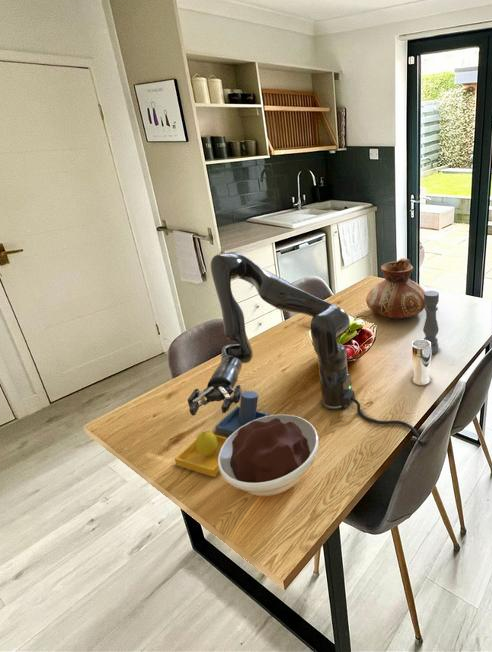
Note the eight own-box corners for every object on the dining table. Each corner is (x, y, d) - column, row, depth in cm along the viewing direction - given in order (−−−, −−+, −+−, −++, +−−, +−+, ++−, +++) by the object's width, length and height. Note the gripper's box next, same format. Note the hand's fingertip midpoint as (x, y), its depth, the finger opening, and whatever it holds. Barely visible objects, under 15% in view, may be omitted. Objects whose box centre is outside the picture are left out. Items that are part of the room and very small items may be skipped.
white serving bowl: (278, 428, 121) (271, 387, 115) (341, 462, 108) (336, 417, 102) (204, 484, 103) (191, 438, 97) (268, 533, 89) (258, 484, 83)
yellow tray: (242, 447, 114) (240, 441, 113) (214, 477, 105) (212, 470, 104) (206, 437, 119) (204, 431, 118) (176, 465, 109) (174, 458, 108)
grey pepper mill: (421, 352, 161) (421, 295, 151) (425, 345, 166) (425, 289, 156) (435, 355, 158) (437, 297, 149) (439, 347, 164) (441, 291, 154)
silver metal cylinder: (433, 377, 144) (434, 340, 138) (427, 387, 138) (427, 350, 132) (415, 373, 147) (415, 337, 141) (408, 383, 141) (408, 346, 135)
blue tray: (270, 419, 125) (269, 413, 125) (249, 441, 117) (248, 435, 116) (238, 412, 129) (237, 406, 128) (216, 432, 121) (215, 426, 120)
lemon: (212, 463, 109) (206, 440, 106) (194, 461, 110) (188, 438, 107) (224, 449, 114) (218, 426, 111) (206, 446, 115) (200, 424, 112)
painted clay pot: (429, 324, 184) (430, 273, 174) (365, 326, 184) (362, 275, 175) (424, 299, 211) (424, 254, 202) (368, 301, 212) (365, 256, 202)
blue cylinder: (258, 421, 124) (261, 395, 123) (245, 427, 120) (248, 399, 118) (247, 415, 127) (250, 389, 125) (234, 420, 122) (237, 393, 121)
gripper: (198, 371, 125) (178, 403, 110) (244, 367, 126) (231, 398, 111) (203, 391, 128) (185, 424, 113) (248, 387, 129) (236, 420, 114)
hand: (207, 411), depth 112 cm, fingers open, 8 cm apart
